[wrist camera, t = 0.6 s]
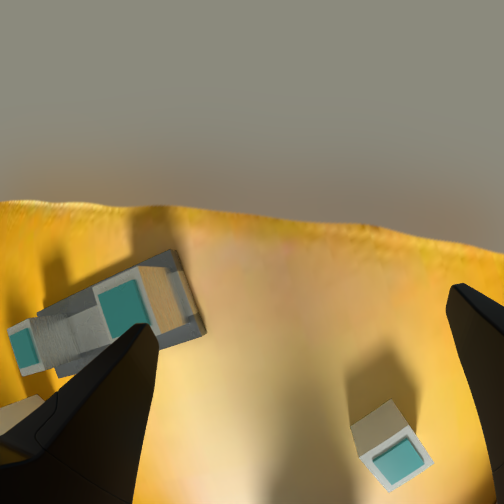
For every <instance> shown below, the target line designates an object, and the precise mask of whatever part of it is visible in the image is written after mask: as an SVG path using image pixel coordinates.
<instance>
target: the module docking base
mask: <svg viewBox="0 0 504 504" xmlns="http://www.w3.org/2000/svg"><path fill="white" fill-rule="evenodd" d="M37 316H38V317H35V318H28V319H26V320H24V321H22V322H20V323H18V324H16V325H14V326H12V327H10V328H9V329H7V331H8V335H9V338H10V342H11V345H12V348H13V351H14V355H15V358H16V361H17V364H18V366H19V369H20V372H21V375H22V377H23V376H26V375H30V374H34V373H37V372H41V371H45V370H48V369H51V368H55V371H56V373H57V376H58V378H62V377H66V376H70V375H74V374H77V373H78V372H79V371H80V370H82V369H83V368H84V367H85V366H86V365H87V364H89V363H90V362H91V361H92V360H93V359H94V358H95V357H97V356H98V355H99V354H100V353H101V352H102V351H104V350H105V349H106V348H107V347H108V346H109V345H111V344H112V343H113V342H114V341H115V340H116V339H117V338H119V337H120V336H121V335H122V334H123V333H125V332H126V331H127V330H128V329H129V328H130V327H132V326H133V325H134V324H136V323H148V324H149V325H150V327H151V329H152V330H153V332H154V334H155V336H156V338H157V340H158V342H159V350H161V349H165V348H168V347H171V346H174V345H177V344H180V343H183V342H186V341H189V340H192V339H195V338H198V337H201V336H203V335H205V334H207V333H206V330H205V328H204V325H203V323H202V320H201V317H200V315H199V312H198V310H197V307H196V304H195V302H194V299H193V296H192V294H191V291H190V288H189V285H188V283H187V280H186V277H185V274H184V272H183V269H182V266H181V263H180V260H179V257H178V254H177V252H176V250H171V249H170V250H168V251H165V252H163V253H161V254H159V255H156V256H154V257H152V258H150V259H148V260H145V261H143V262H141V263H139V264H137V265H135V266H132V267H130V268H128V269H126V270H124V271H122V272H119V273H117V274H115V275H113V276H111V277H109V278H107V279H105V280H103V281H100V282H98V283H96V284H94V285H92V286H90V287H88V288H86V289H84V290H82V291H80V292H78V293H75V294H73V295H71V296H69V297H67V298H65V299H63V300H61V301H59V302H57V303H55V304H53V305H51V306H49V307H47V308H45V309H43V310H41V311H39V312H37Z"/></svg>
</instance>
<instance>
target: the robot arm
mask: <svg viewBox="0 0 504 504" xmlns="http://www.w3.org/2000/svg"><path fill="white" fill-rule="evenodd" d="M446 315H447V318H448V321H449V325H450V328H451V331H452V335H453V338H454V342H455V346H456V349H457V353H458V356H459V359H460V362H461V365H462V367H463V370H464V373H465V376H466V378H467V381H468V384H469V387H470V390H471V393H472V396H473V399H474V403H475V406H476V409H477V412H478V416H479V419H480V423H481V426H482V430H483V434H484V438H485V442H486V446H487V450H488V455H489V459H490V464H491V469H492V472H493V473H492V475H493V480H494V486H495V492H496V499H497V504H504V306H502V305H500V304H499V303H497V302H495V301H494V300H492V299H490V298H489V297H487V296H485V295H484V294H482V293H480V292H478V291H477V290H475V289H473V288H472V287H470V286H468V285H466V284H464V283H460V284H455V285H452V286H451V288H450V291H449V295H448V300H447V304H446ZM158 354H159V342H158V340H157V338H156V336H155V334H154V332H153V330H152V329H151V327H150V325H149V324H148V323H136V324H134V325H133V326H132V327H130V328H129V329H128V330H127V331H126V332H125V333H123V334H122V335H121V336H120V337H119V338H117V339H116V340H115V341H114V342H113V343H112V344H111V345H109V346H108V347H107V348H106V349H105V350H104V351H102V352H101V353H100V354H99V355H98V356H97V357H95V358H94V359H93V360H92V361H91V362H90V363H89V364H87V365H86V366H85V367H84V368H83V369H82V370H80V371H79V372H78V373H77V374H76V375H75V376H74V377H72V378H71V379H70V380H69V381H68V382H67V383H66V384H65V385H63V386H62V387H61V388H60V389H59V390H58V391H57V392H55V393H54V394H53V395H52V396H51V397H50V398H49V399H48V400H46V401H45V402H44V403H43V404H42V405H40V406H39V407H38V408H37V409H36V410H34V411H33V412H32V413H30V414H29V415H28V416H27V417H25V418H24V419H23V420H21V421H20V422H19V423H17V424H16V425H15V426H13V427H12V428H11V429H9V430H8V431H7V432H5V433H4V434H3V435H1V436H0V504H132V501H133V495H134V489H135V483H136V477H137V472H138V466H139V461H140V455H141V450H142V445H143V440H144V435H145V430H146V425H147V420H148V416H149V411H150V406H151V402H152V398H153V393H154V387H155V378H156V370H157V362H158Z"/></svg>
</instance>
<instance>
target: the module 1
mask: <svg viewBox="0 0 504 504" xmlns="http://www.w3.org/2000/svg"><path fill="white" fill-rule="evenodd" d="M44 402H45V401H44V400H43V399H42V398H41V397H40V396H38V395H37V394H36V395H34V396H31V397H28V398H26V399H23V400H21V401H18V402H15V403H13V404H10V405H7V406H5V407H2V408H0V436H1V435H3V434H4V433H5V432H7V431H8V430H9V429H11V428H12V427H13V426H15V425H16V424H17V423H19V422H20V421H21V420H23V419H24V418H25V417H27V416H28V415H29V414H30V413H32V412H33V411H34V410H36V409H37V408H38V407H39V406H40V405H42V404H43V403H44Z"/></svg>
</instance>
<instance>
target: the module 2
mask: <svg viewBox="0 0 504 504" xmlns="http://www.w3.org/2000/svg"><path fill="white" fill-rule="evenodd" d="M350 428H351V431H352V435H353V438H354V442H355V446H356V449H357V453H358V457H359V458H360V460H361V461H362V462H363V463H364V464H365V466H366V467H367V468H368V469H369V470H370V472H371V473H372V474H373V475H374V476H375V477H376V479H377V480H378V481H379V482H380V483H381V484H382V486H383V487H384V488H385V489H386V490H387V491H388V493H389V492H391V491H393V490H394V489H396V488H398V487H399V486H401V485H403V484H404V483H406V482H407V481H409V480H411V479H412V478H414V477H415V476H417V475H418V474H420V473H421V472H423V471H424V470H426V469H427V468H428V467H430V466H431V465H433V464H434V462H433V460H432V459H431V457H430V456H429V454H428V453H427V451H426V450H425V448H424V446H423V445H422V443H421V442H420V440H419V439H418V437H417V436H416V434H415V433H414V431H413V430H412V428H411V427H410V425H409V424H408V422H407V421H406V419H405V418H404V417H403V415H402V414H401V412H400V411H399V409H398V408H397V406H396V405H395V403H394V402H393V400H392V399H390V400H388V401H387V402H386V403H384V404H383V405H381V406H380V407H379V408H377V409H376V410H374V411H373V412H371V413H370V414H368V415H367V416H365V417H364V418H362V419H361V420H359V421H358V422H356V423H355V424H353V425H351V426H350Z"/></svg>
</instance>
